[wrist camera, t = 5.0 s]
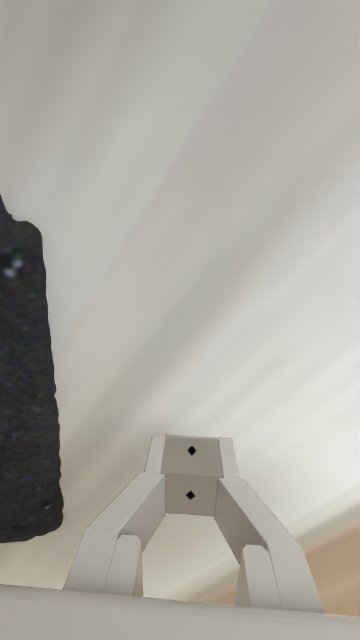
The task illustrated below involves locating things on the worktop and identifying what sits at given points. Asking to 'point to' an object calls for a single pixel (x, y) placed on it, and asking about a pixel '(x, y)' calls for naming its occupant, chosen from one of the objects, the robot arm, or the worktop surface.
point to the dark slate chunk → (26, 390)
